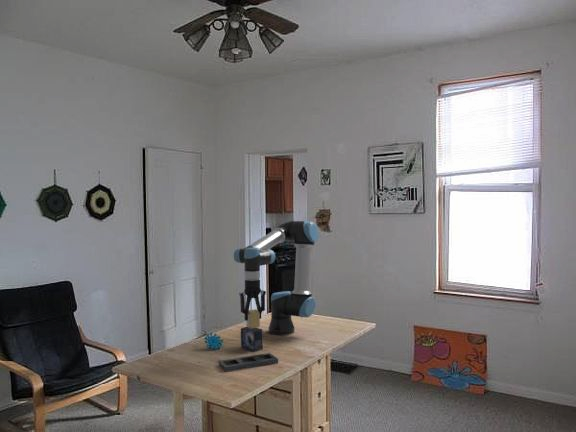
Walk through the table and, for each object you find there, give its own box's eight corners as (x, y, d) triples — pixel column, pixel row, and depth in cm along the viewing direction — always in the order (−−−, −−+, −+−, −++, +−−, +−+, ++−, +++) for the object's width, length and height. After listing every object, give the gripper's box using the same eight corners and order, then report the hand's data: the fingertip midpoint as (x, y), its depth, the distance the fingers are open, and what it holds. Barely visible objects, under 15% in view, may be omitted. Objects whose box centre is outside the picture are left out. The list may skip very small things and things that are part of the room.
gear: (208, 349, 248) (203, 332, 254) (203, 355, 251) (198, 338, 257) (227, 348, 255) (222, 331, 261) (222, 354, 258) (217, 337, 264)
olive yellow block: (255, 325, 245) (255, 309, 244) (259, 327, 241) (258, 311, 240) (247, 326, 243) (247, 310, 243) (250, 328, 239) (250, 312, 238)
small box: (240, 347, 255) (239, 328, 255) (249, 345, 260) (249, 325, 259) (254, 352, 248) (253, 331, 247) (263, 349, 253) (263, 328, 252)
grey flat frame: (269, 356, 240) (269, 352, 240) (278, 362, 231) (278, 358, 231) (218, 365, 229) (218, 360, 229) (225, 371, 220) (225, 367, 219)
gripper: (265, 276, 248) (266, 322, 249) (232, 279, 241) (233, 326, 241) (271, 278, 241) (272, 325, 242) (238, 281, 234) (238, 330, 235)
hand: (253, 326), depth 242 cm, fingers closed on olive yellow block, 4 cm apart
